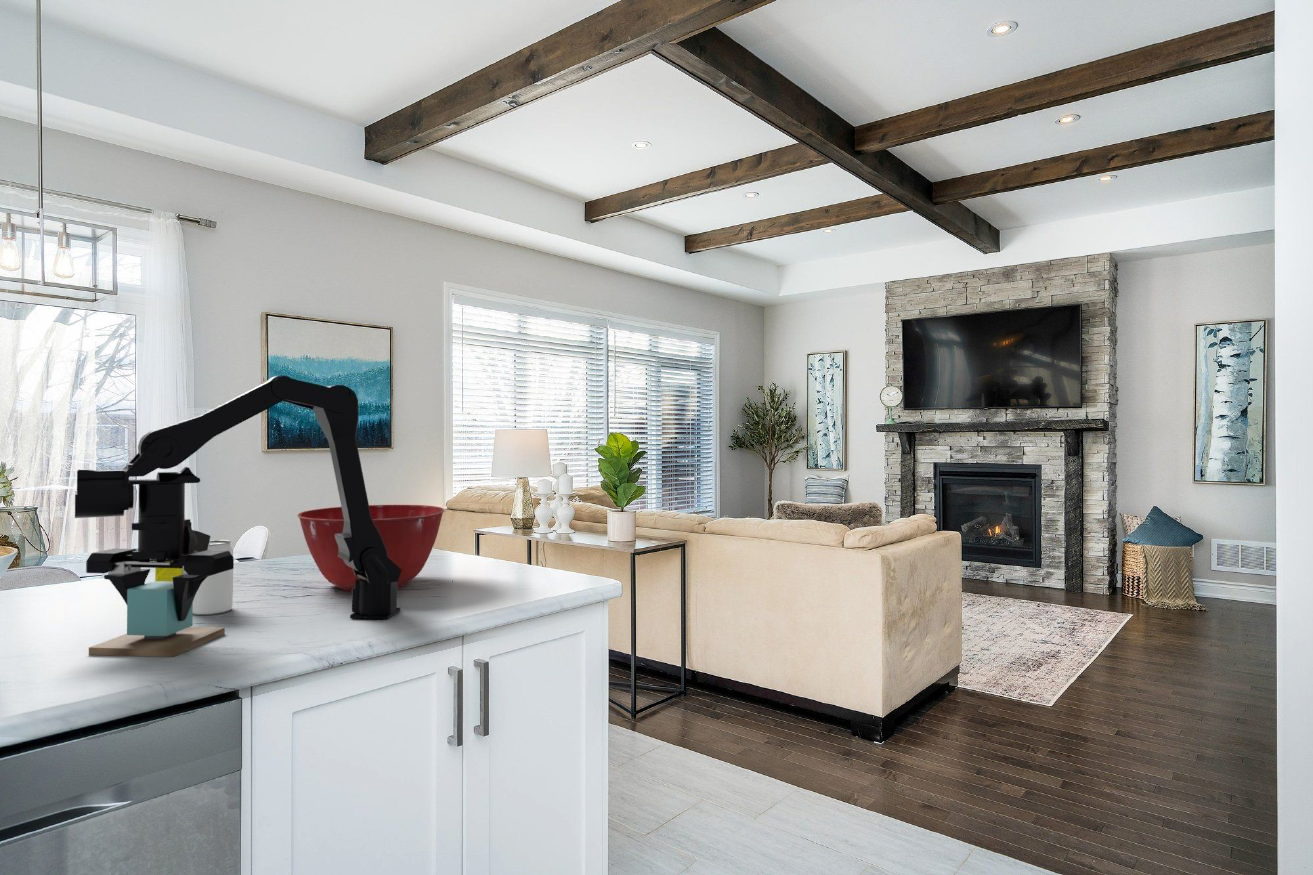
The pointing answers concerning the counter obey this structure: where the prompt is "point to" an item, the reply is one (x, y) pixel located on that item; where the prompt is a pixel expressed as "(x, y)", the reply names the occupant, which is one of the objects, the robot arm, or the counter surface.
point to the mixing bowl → (399, 527)
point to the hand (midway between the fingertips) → (160, 620)
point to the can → (215, 587)
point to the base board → (157, 643)
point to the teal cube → (154, 610)
